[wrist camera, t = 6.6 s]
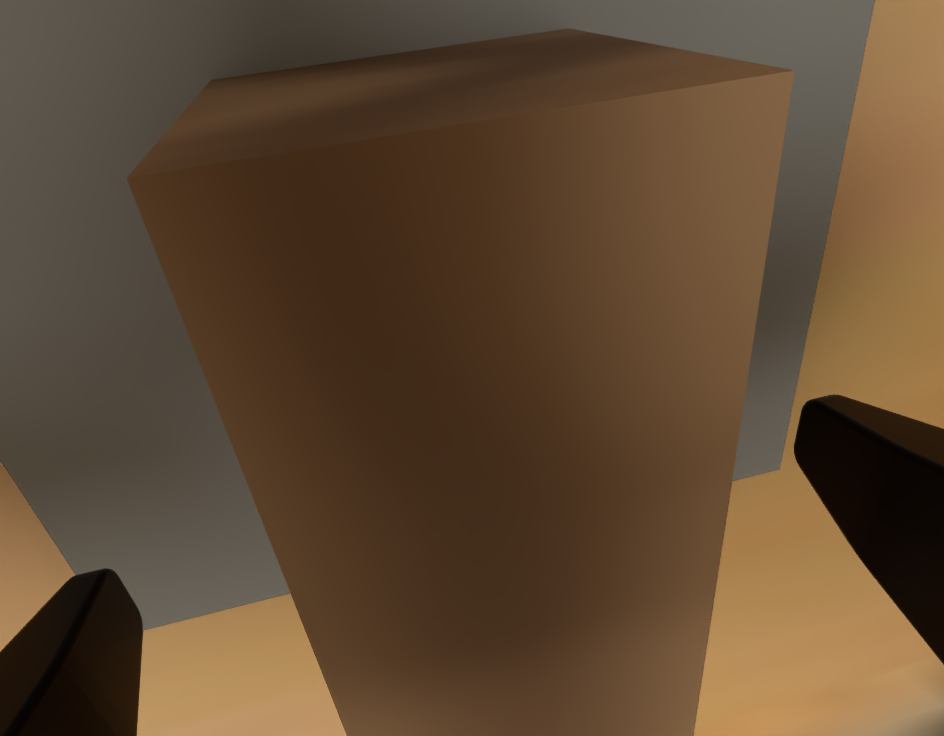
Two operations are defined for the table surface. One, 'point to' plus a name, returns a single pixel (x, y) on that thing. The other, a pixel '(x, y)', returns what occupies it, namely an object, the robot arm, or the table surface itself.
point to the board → (151, 301)
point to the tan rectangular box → (484, 361)
